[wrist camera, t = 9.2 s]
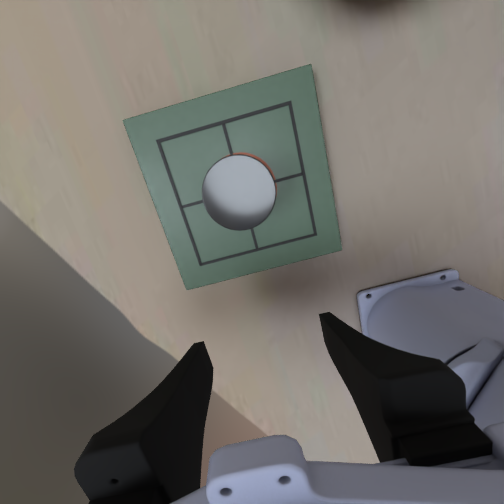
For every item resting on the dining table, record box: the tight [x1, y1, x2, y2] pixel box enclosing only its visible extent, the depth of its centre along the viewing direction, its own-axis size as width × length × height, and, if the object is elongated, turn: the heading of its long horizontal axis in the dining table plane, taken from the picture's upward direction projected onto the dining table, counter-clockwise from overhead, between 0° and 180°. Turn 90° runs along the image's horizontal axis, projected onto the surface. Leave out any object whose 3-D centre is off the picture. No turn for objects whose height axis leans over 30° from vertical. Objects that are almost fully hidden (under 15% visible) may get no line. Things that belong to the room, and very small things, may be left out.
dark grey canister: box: [202, 154, 276, 231], centre depth 17 cm, size 4×4×5 cm
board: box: [123, 64, 342, 290], centre depth 20 cm, size 14×14×2 cm
